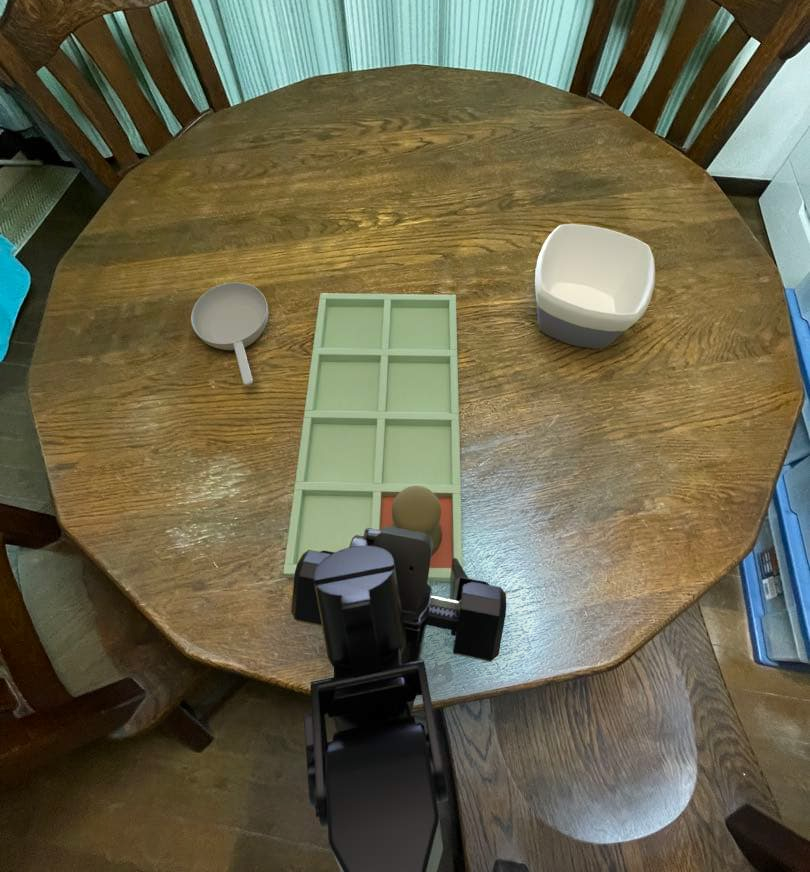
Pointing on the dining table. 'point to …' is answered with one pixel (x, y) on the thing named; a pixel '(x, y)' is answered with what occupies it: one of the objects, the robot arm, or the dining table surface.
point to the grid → (378, 422)
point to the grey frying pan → (231, 320)
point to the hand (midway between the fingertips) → (410, 553)
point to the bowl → (592, 284)
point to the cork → (418, 513)
